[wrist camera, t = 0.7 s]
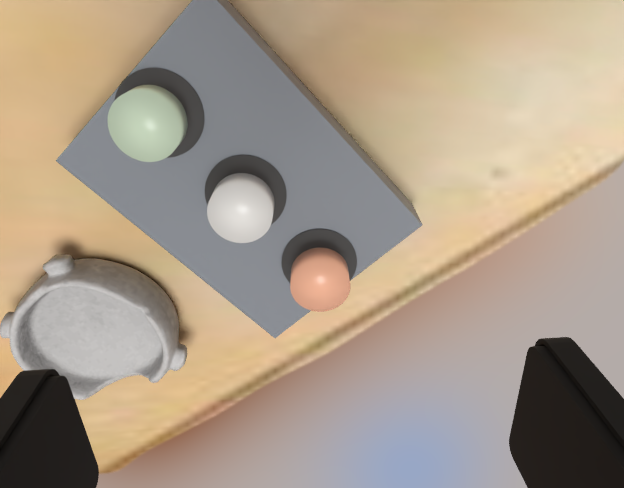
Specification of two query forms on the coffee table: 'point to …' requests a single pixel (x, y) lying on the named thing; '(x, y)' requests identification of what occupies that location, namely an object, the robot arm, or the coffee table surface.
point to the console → (243, 166)
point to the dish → (95, 325)
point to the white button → (241, 208)
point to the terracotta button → (319, 279)
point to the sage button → (147, 123)
